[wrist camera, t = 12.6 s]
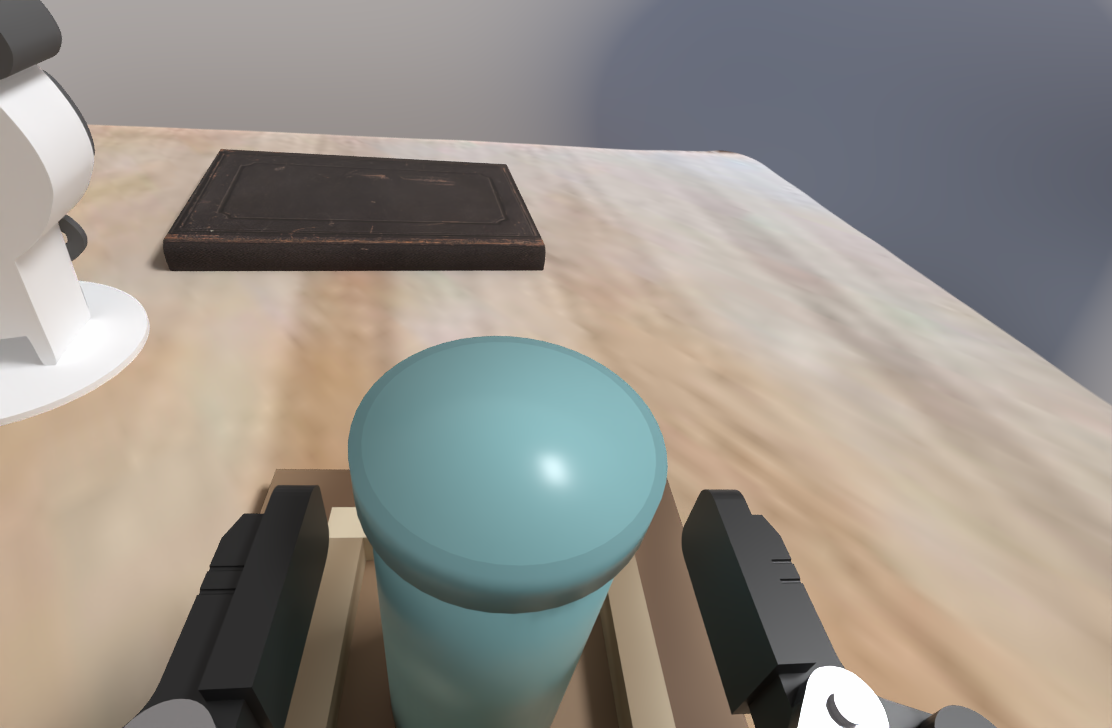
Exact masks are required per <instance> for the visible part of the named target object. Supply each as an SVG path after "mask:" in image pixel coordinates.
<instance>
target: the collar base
mask: <svg viewBox="0 0 1112 728" xmlns="http://www.w3.org/2000/svg"><path fill="white" fill-rule="evenodd" d="M277 485H318V486H319V487H320V490H321V494H322V499H323V504H324V508H325V513H326V517H327V522H328V527H329V548H328V554H327V559H326V564H325V568H324V572H323V576H322V579H321V583H320V587H319V591H318V595H317V599H316V603H315V607H314V611H313V615H312V619H311V623H310V627H309V631H308V635H307V639H306V643H305V647H304V651H303V655H302V659H301V663H300V667H299V671H298V675H297V679H296V683H295V687H294V691H293V695H292V699H291V703H290V707H289V711H288V715H287V719H286V723H285V727H284V728H396V725H395V722H394V718H393V713H392V707H391V699H390V690H389V682H388V673H387V665H386V656H385V648H384V639H383V631H382V623H381V614H380V606H379V597H378V589H377V580H376V572H375V563H374V555H373V547H372V545H371V544H370V542H369V540H368V539H367V537H366V535H365V534H364V532H363V529H362V526H361V524H360V521H359V518H358V516H357V511H356V506H355V501H354V495H353V488H352V482H351V475H350V470H320V469H276V471H275V474H274V477H273V479H272V482H271V485H270V488H269V490H268V493H267V496H266V498H265V501H264V504H263V506H262V509H261V512H260V514H264V512H265V510H266V507H267V504H268V502H269V499H270V496H271V494H272V492H273V490H274V488H275V487H276V486H277ZM682 531H683V526H682V523H681V520H680V517H679V514H678V511H677V507H676V504H675V501H674V498H673V495H672V492H671V489H670V486H669V483H668V480H667V478H666V485H665V488H664V492H663V495H662V499H661V501H660V503H659V505H658V508H657V510H656V512H655V514H654V516H653V519H652V521H651V523H650V525H649V527H648V530H647V532H646V534H645V536H644V538H643V540H642V542H641V544H640V547H639V549H638V550H637V552H636V553H635V554H634V556H633V557H632V559H631V560H630V562H629V563H628V564H627V565H626V566H625V567H624V568H623V569H622V570H621V571H620V572H619V573H618V574H617V575H616V577H614V579H613V581H612V584H611V586H610V588H609V591H608V593H607V595H606V598H605V600H604V602H603V605H602V607H601V609H600V612H599V614H598V616H597V619H596V621H595V623H594V626H593V628H592V630H591V633H590V635H589V638H588V640H587V642H586V645H585V647H584V649H583V652H582V654H581V656H580V659H579V661H578V663H577V666H576V668H575V670H574V673H573V675H572V677H571V680H570V682H569V684H568V687H567V689H566V692H565V694H564V696H563V699H562V701H561V703H560V706H559V708H558V710H557V713H556V715H555V717H554V720H553V722H552V724H551V726H550V728H748V725H747V722H746V719H745V716H744V714H734V715H732V714H731V711H730V708H729V704H728V701H727V698H726V695H725V691H724V688H723V685H722V681H721V678H720V675H719V672H718V668H717V665H716V662H715V658H714V655H713V652H712V649H711V645H710V642H709V639H708V635H707V632H706V629H705V626H704V622H703V619H702V616H701V612H700V609H699V606H698V603H697V599H696V596H695V593H694V589H693V586H692V583H691V580H690V576H689V573H688V570H687V566H686V563H685V560H684V556H683V552H682V543H681V538H682Z"/></svg>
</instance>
